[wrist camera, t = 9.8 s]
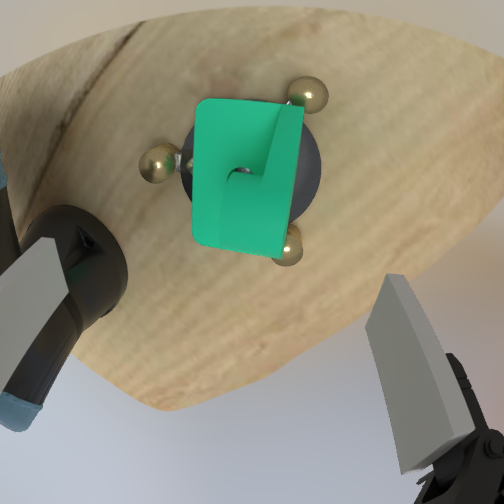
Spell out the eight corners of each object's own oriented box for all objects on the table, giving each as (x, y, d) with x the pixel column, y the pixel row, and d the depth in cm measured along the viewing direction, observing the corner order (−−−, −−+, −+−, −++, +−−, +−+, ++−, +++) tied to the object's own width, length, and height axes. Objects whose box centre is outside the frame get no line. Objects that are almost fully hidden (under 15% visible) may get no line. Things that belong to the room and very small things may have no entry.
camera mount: (208, 97, 21) (141, 104, 13) (305, 106, 21) (300, 113, 12) (202, 230, 28) (152, 298, 19) (284, 244, 27) (268, 324, 18)
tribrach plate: (155, 236, 31) (144, 250, 28) (153, 71, 22) (139, 70, 20) (302, 252, 31) (305, 268, 28) (330, 82, 22) (337, 81, 19)
